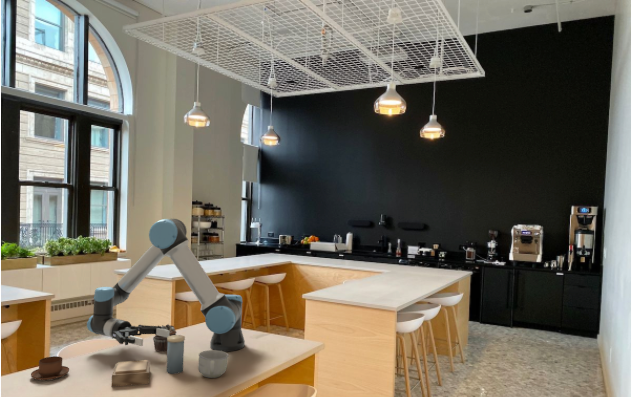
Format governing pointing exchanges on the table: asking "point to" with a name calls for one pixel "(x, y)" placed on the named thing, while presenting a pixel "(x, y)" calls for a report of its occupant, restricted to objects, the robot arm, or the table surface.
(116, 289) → the robot arm
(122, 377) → the pedestal
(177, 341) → the canister
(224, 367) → the teacup
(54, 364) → the cup and saucer
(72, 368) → the table surface
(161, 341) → the cupcake
